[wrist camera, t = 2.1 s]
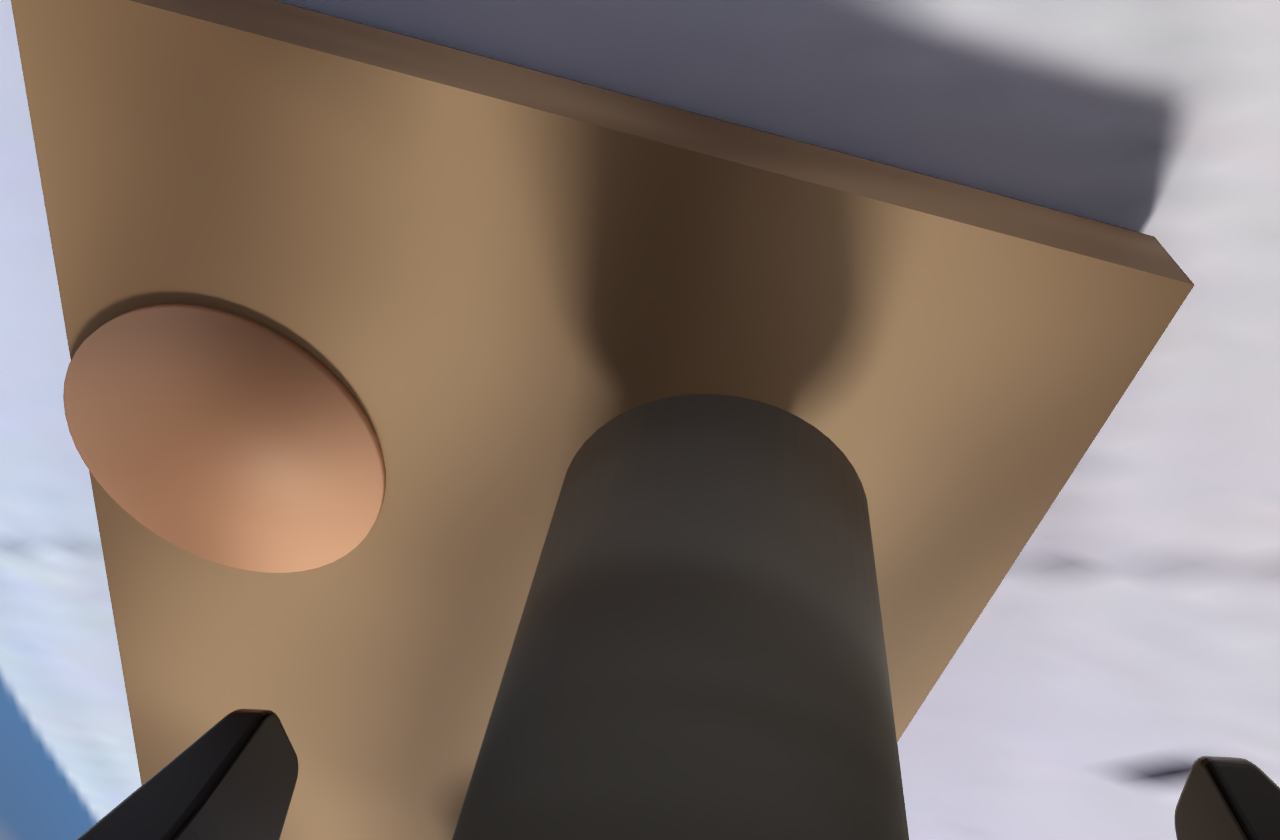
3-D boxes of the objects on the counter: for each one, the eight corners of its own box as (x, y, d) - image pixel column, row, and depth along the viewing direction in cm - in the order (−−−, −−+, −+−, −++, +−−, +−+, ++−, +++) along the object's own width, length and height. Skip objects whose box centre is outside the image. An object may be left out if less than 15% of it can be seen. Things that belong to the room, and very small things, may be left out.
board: (1154, 236, 13) (1200, 291, 11) (742, 922, 24) (740, 991, 23) (75, -53, 12) (-15, -33, 11) (179, 785, 24) (142, 846, 22)
